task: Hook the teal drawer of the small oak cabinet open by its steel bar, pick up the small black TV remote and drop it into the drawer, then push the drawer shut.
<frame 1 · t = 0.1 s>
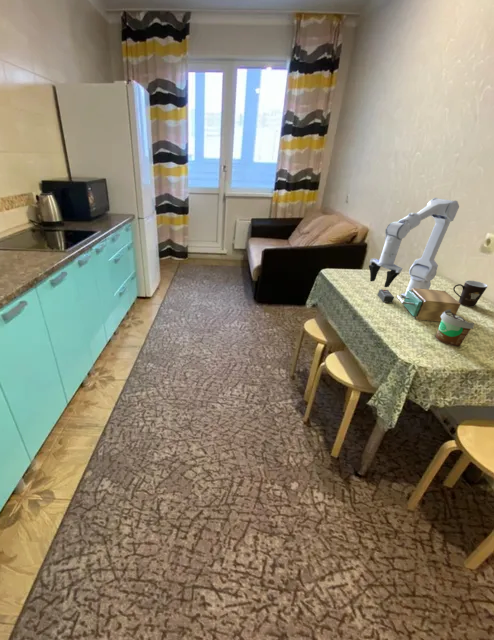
hand: (379, 283, 144), 10 cm above the table, tool pointing down, fingers open, 7 cm apart
drawer: (419, 303, 142), point 4 cm above the table, slide at 0.5 cm
food container: (442, 340, 124), on the table
coffee mug: (462, 303, 156), on the table
remote: (384, 298, 157), on the table
cabinet: (427, 313, 144), on the table
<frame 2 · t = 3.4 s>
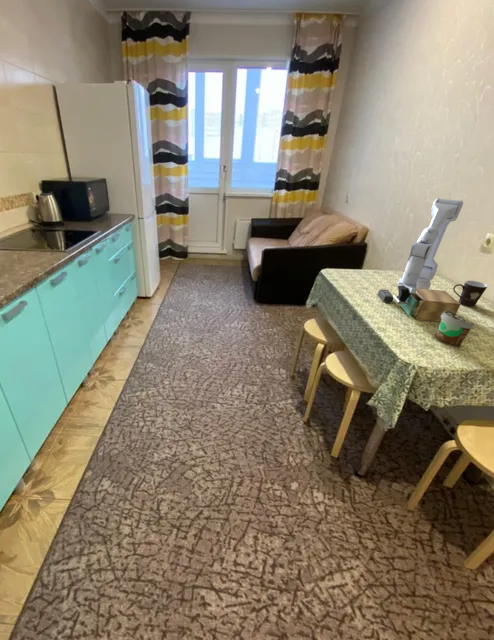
hand: (400, 303, 143), 4 cm above the table, tool pointing down, fingers closed, pressing on drawer
drawer: (415, 303, 142), point 4 cm above the table, slide at 2.3 cm, touching gripper
everything else where it was.
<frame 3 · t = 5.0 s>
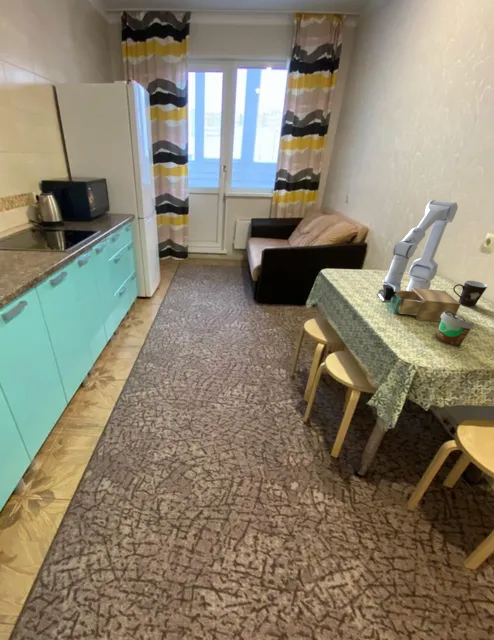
hand: (385, 301, 144), 4 cm above the table, tool pointing down, fingers closed, pressing on drawer
drawer: (400, 301, 143), point 4 cm above the table, slide at 8.4 cm, touching gripper
everything else where it was.
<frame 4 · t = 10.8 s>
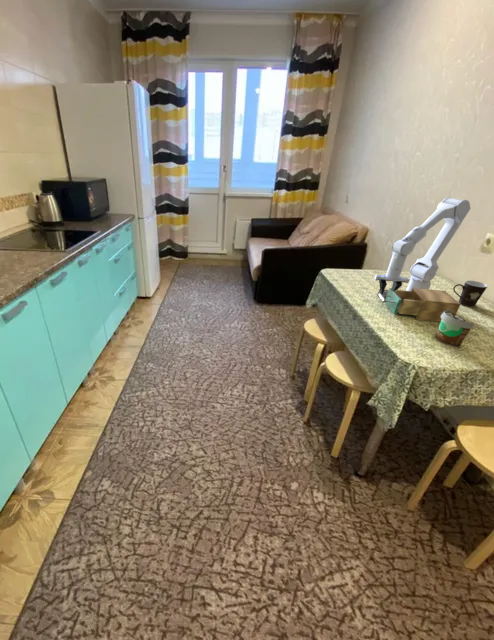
hand: (385, 295, 156), 1 cm above the table, tool pointing down, fingers closed on remote, 4 cm apart
drawer: (400, 301, 143), point 4 cm above the table, slide at 8.4 cm
remote: (384, 298, 157), on the table, touching gripper
everything else where it was.
when the fingers open (5 cm above the table, at t = 15.5 s): remote drops 2 cm, resting on drawer.
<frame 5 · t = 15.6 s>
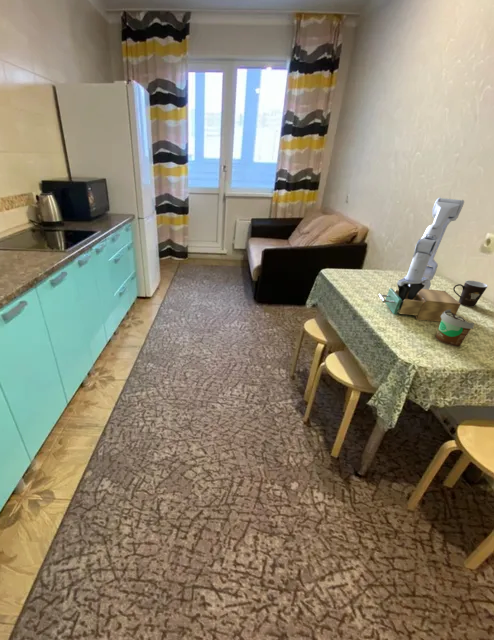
hand: (405, 299, 142), 5 cm above the table, tool pointing down, fingers open, 5 cm apart
drawer: (400, 301, 143), point 4 cm above the table, slide at 8.4 cm, touching remote
remote: (402, 307, 144), point 2 cm above the table, touching drawer
everything else where it was.
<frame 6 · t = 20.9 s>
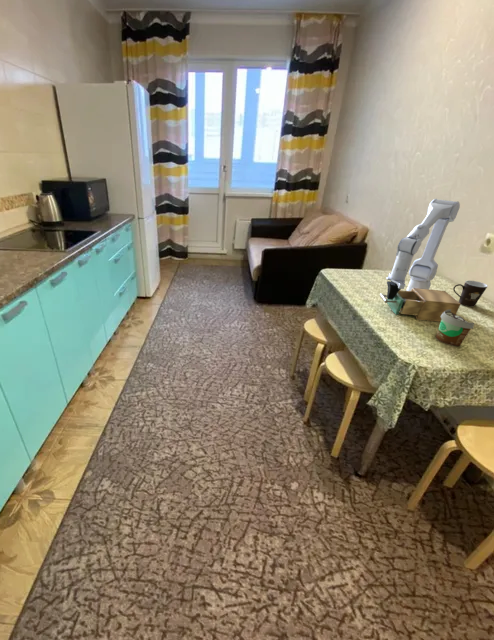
hand: (389, 298, 143), 5 cm above the table, tool pointing down, fingers closed, pressing on drawer
drawer: (402, 301, 143), point 4 cm above the table, slide at 7.6 cm, touching gripper, remote
everything else where it was.
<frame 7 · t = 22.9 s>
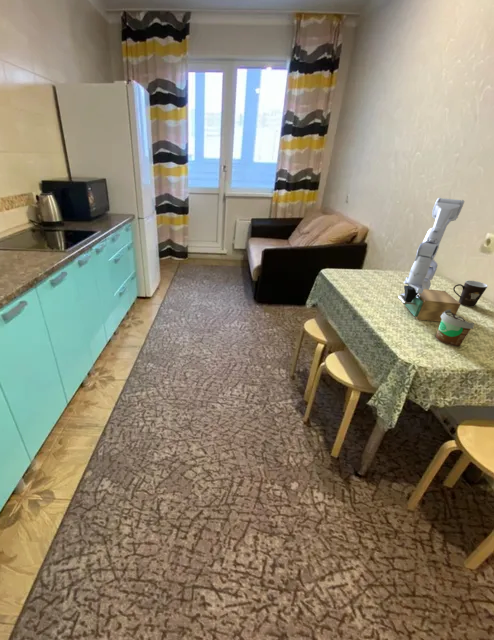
hand: (406, 303, 143), 4 cm above the table, tool pointing down, fingers closed, pressing on drawer
drawer: (421, 303, 142), point 4 cm above the table, slide at 0.0 cm, touching cabinet, gripper, remote
remote: (422, 309, 143), point 2 cm above the table, touching drawer
everything else where it was.
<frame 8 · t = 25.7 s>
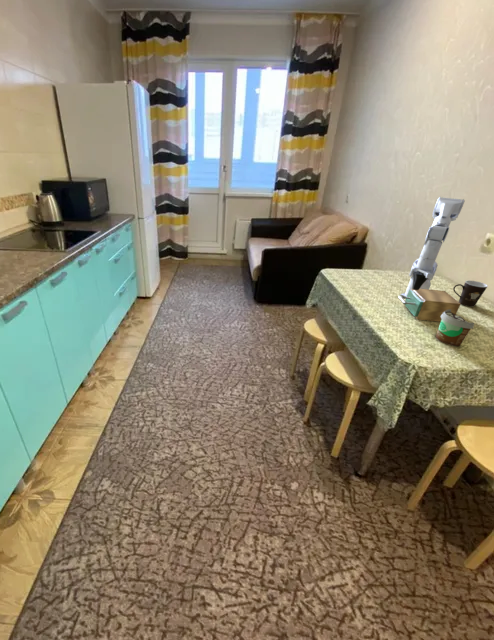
hand: (415, 289, 139), 10 cm above the table, tool pointing down, fingers closed
drawer: (421, 303, 142), point 4 cm above the table, slide at 0.0 cm, touching remote
everything else where it was.
at the end: drawer pulled out 8.4 cm at the most during the clip, back to where it started at the end; remote inside the target area in the cabinet (2.6 cm from its centre), point 2.0 cm above the cabinet's base; drawer slide at 0.0 cm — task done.
